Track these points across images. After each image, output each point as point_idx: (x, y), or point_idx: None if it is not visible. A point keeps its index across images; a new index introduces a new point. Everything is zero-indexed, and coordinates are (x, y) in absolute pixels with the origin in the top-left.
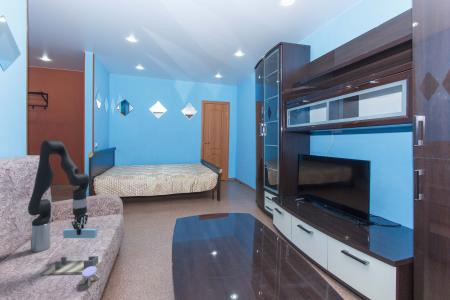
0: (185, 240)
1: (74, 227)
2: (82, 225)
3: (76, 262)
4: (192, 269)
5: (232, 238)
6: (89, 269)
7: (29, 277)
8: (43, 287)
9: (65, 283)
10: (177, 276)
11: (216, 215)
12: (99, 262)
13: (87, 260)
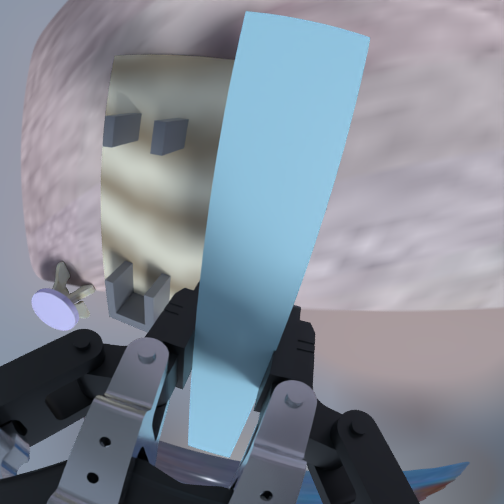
0: None
1: (59, 359)
2: (257, 427)
3: (187, 204)
4: None
5: None
6: (57, 311)
7: (115, 21)
8: (45, 144)
9: (60, 214)
10: None
11: (418, 497)
12: None
13: (112, 295)
